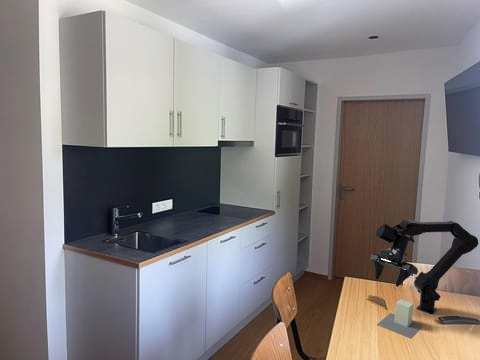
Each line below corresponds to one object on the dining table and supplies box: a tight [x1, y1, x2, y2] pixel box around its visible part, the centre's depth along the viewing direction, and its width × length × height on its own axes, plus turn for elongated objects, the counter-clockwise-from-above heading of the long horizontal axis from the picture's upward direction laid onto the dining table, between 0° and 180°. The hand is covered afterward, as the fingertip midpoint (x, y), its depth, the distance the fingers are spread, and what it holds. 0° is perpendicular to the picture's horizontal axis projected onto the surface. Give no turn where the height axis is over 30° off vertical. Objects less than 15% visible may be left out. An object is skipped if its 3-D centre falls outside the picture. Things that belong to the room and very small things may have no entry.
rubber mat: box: [376, 312, 425, 340], centre depth 136 cm, size 14×13×1 cm
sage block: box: [394, 298, 414, 327], centre depth 138 cm, size 5×5×8 cm
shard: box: [365, 294, 387, 310], centre depth 155 cm, size 11×8×2 cm
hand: (386, 282), depth 143 cm, fingers open, 9 cm apart
